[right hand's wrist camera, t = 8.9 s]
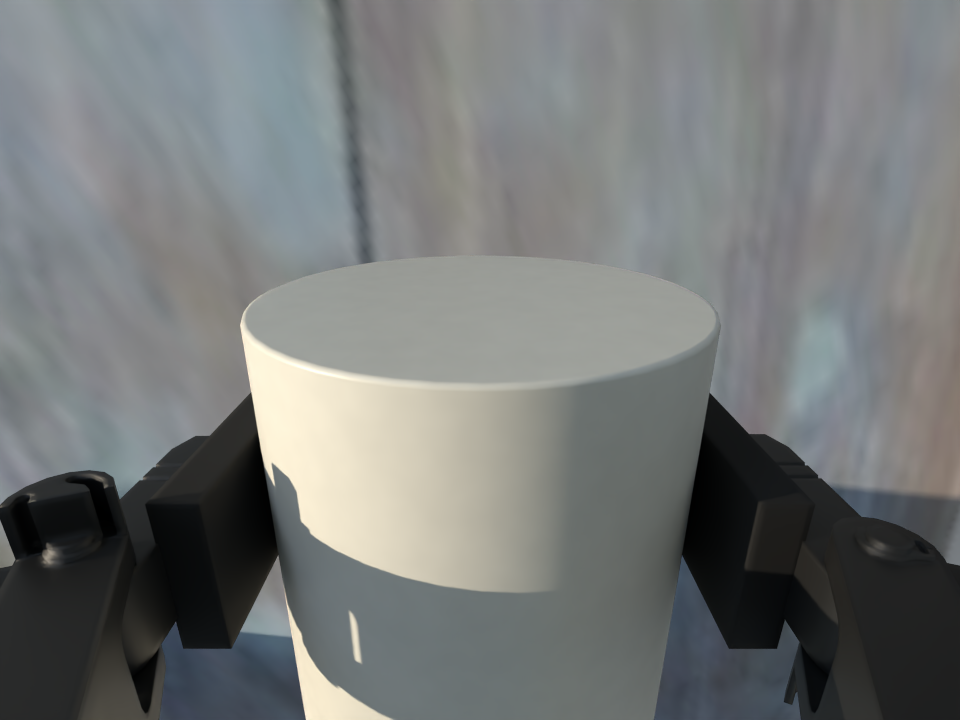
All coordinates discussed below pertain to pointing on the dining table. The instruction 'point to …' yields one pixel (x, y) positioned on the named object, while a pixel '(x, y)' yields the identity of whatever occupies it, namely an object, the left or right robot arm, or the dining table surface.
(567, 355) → the paper towel roll
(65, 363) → the dining table surface
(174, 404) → the dining table surface
